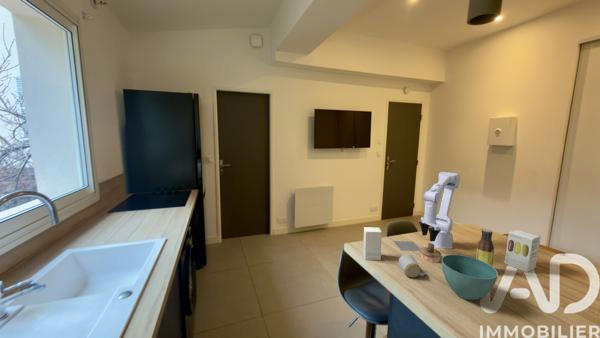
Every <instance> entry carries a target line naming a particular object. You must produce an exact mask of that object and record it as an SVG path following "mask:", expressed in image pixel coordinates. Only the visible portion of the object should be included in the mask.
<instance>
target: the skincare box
mask: <svg viewBox="0 0 600 338" xmlns="http://www.w3.org/2000/svg"><path fill="white" fill-rule="evenodd" d="M382 234H383V232H382V230H381V228H380V227H376V226H375V227H373V226H372V227H371V226H369V227H368V226H367V227H366V226H364V227H363V246H362V254H363V258H364V260H366V261H368V260H370V261H381V260H382V237H383V235H382Z"/></svg>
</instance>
